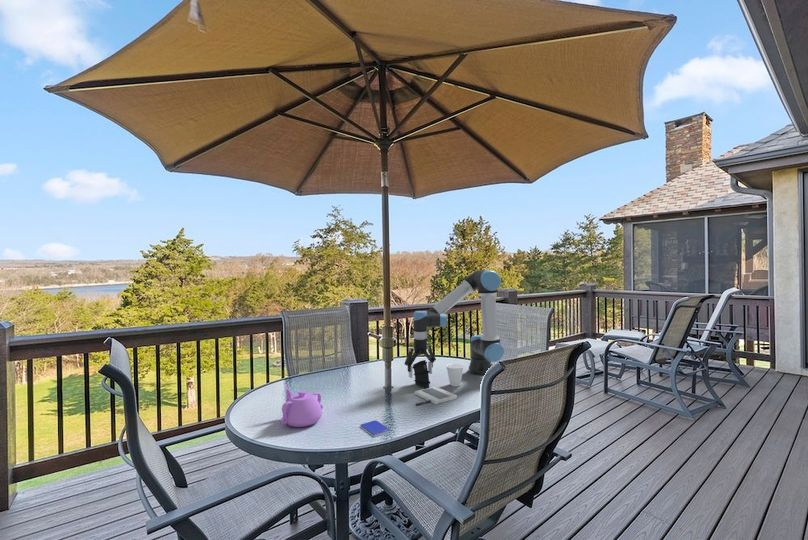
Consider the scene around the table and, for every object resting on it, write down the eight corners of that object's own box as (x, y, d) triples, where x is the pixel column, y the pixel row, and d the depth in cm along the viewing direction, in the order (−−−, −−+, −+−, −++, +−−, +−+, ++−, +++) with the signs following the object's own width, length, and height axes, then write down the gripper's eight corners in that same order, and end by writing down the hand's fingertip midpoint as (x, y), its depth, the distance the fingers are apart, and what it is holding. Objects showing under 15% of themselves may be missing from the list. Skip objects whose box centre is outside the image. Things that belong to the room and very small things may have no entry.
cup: (463, 382, 229) (463, 363, 229) (464, 388, 219) (464, 368, 219) (446, 382, 230) (446, 363, 230) (446, 387, 220) (446, 368, 220)
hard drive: (391, 429, 166) (376, 419, 176) (374, 434, 161) (360, 424, 172) (391, 433, 166) (376, 423, 176) (374, 438, 161) (360, 427, 172)
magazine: (427, 387, 216) (420, 360, 221) (416, 391, 226) (410, 365, 232) (433, 386, 218) (426, 359, 223) (422, 390, 228) (415, 364, 234)
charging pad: (435, 389, 219) (435, 386, 219) (457, 398, 203) (456, 395, 203) (400, 397, 206) (400, 394, 206) (420, 408, 191) (420, 405, 191)
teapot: (305, 407, 195) (304, 380, 194) (334, 418, 181) (333, 388, 181) (264, 422, 178) (263, 392, 177) (293, 435, 164) (292, 402, 164)
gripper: (433, 334, 234) (434, 370, 235) (398, 339, 221) (398, 377, 222) (441, 336, 228) (441, 373, 229) (405, 342, 215) (405, 380, 215)
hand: (420, 375), depth 225 cm, fingers open, 13 cm apart
